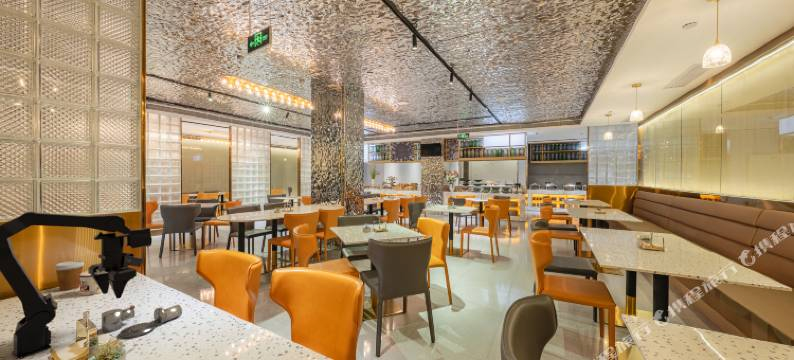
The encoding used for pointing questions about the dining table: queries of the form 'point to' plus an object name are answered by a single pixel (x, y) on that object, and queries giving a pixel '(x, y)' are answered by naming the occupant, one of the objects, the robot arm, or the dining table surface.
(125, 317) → the elbow
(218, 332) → the dining table surface
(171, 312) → the silver metal long piece
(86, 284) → the teacup with lid
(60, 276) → the disposable coffee cup
